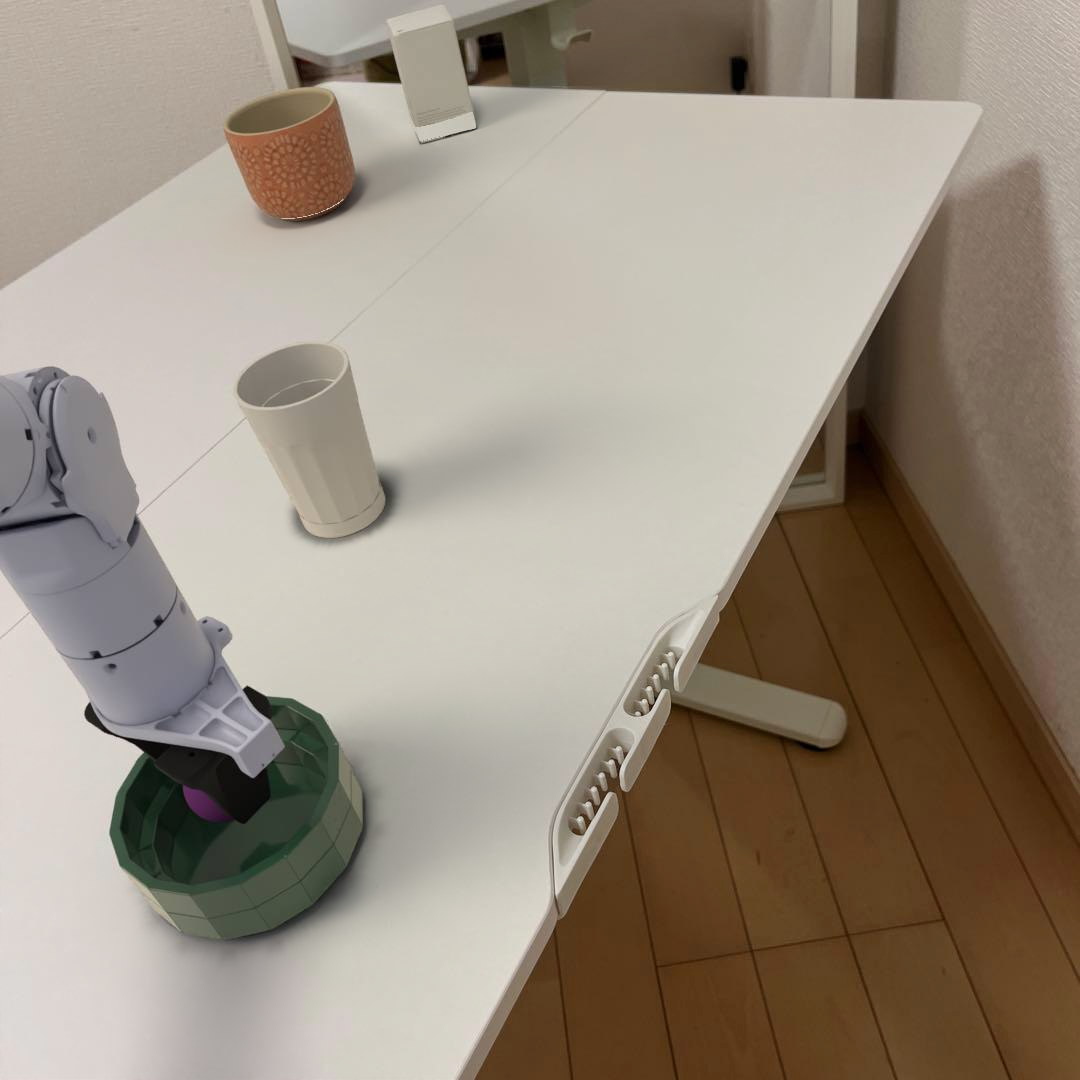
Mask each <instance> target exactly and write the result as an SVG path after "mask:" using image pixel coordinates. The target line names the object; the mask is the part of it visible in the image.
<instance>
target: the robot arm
mask: <svg viewBox="0 0 1080 1080" xmlns="http://www.w3.org/2000/svg"><path fill="white" fill-rule="evenodd" d="M139 505H140V497H139V494H138V492H137V483H136V482H135V480H134V478H133V476H132V475H131V473H130V471H129V468H128V467H127V464H126V462H125V459H124V456H123V452H122V448H121V441H120V436H119V432H118V428H117V424H116V421H115V418H114V415H113V412H112V409H111V406H110V405H109V402H108V400H107V398H106V395H105V394H104V392H98V391H97V389H96V388H95V387H94V386H93V385H92V384H91V383H90V382H89V381H88V380H87V379H85V378H83V377H81V376H79V375H75V374H73V375H71V374H70V373H68V372H67V371H66V370H64V369H62V368H60V367H57V366H43V367H36V368H32V369H27V370H24V371H23V370H21V371H18V372H11V373H7V374H0V572H1V574H2V575H3V576H4V578H5V579H6V580H7V582H8V584H9V585H10V586H11V588H12V589H13V590H14V592H15V594H16V595H17V596H18V598H19V599H20V600H21V602H22V603H23V605H24V606H25V608H26V609H27V610H28V611H29V613H30V615H31V616H32V617H33V619H34V620H35V621H36V623H37V625H38V626H39V628H40V629H41V631H43V633H44V635H45V636H46V637H47V638H48V640H49V641H50V644H52V646H53V647H54V649H55V650H56V651H57V653H58V654H59V656H60V658H61V659H62V660H63V662H64V663H65V664H66V666H67V667H68V669H69V670H70V671H71V673H72V675H73V676H74V677H75V679H76V680H77V681H78V683H79V685H80V686H81V687H82V688H83V690H84V691H85V693H86V696H87V698H88V700H89V701H88V703H87V705H86V706H85V708H84V713H83V717H84V718H85V720H86V721H87V722H88V723H89V724H91V725H92V726H93V727H95V728H96V729H98V730H99V731H101V732H102V733H104V734H106V735H110V736H113V737H116V738H118V739H121V740H123V741H126V742H128V743H129V744H133V745H134V746H135V747H137V748H138V749H139V750H140V751H141V752H142V753H145V754H146V755H148V756H149V757H150V758H151V759H152V760H153V761H154V763H153V764H154V766H155V767H156V768H157V769H158V770H160V771H161V772H163V773H164V774H166V775H167V776H169V777H170V778H171V779H173V780H174V781H176V782H178V783H179V784H181V785H184V786H186V787H188V788H191V789H194V790H200V791H203V792H204V793H205V794H206V795H207V796H208V797H209V798H210V799H211V800H212V801H213V802H214V803H215V804H216V805H217V806H218V807H219V808H220V809H221V810H222V811H223V812H225V813H226V814H227V815H229V816H230V817H231V818H233V819H234V820H236V821H237V822H239V823H241V824H246V823H247V821H248V820H249V819H250V818H251V817H252V816H253V815H254V814H255V813H256V812H257V811H258V810H259V809H260V808H261V807H262V806H263V805H264V804H265V803H266V802H267V801H268V800H269V799H270V798H271V792H270V784H269V778H268V772H267V765H268V764H269V763H270V762H271V761H272V760H273V759H274V758H275V756H276V755H277V754H278V753H279V752H280V751H281V750H282V749H283V748H284V747H285V745H284V744H283V742H282V740H281V738H280V736H279V734H278V733H277V731H276V729H275V727H274V725H273V724H272V722H271V718H272V715H273V709H272V706H271V704H270V702H269V700H268V698H267V697H266V696H267V695H265V694H263V693H262V692H260V691H258V690H256V689H255V688H253V687H252V686H249V685H245V687H243V688H242V686H241V684H240V683H239V681H238V679H237V678H236V676H235V675H234V673H233V671H232V670H231V668H230V666H229V664H228V663H227V661H226V659H225V658H224V656H223V649H224V648H225V647H226V646H228V645H229V644H230V643H231V641H232V640H233V636H234V635H233V633H232V631H231V629H230V628H229V626H228V625H227V624H225V623H224V622H222V621H220V620H218V619H216V618H214V617H212V616H204V617H203V616H202V617H201V618H199V619H198V620H197V618H196V615H194V613H193V611H192V609H191V607H190V605H189V604H188V602H187V601H186V598H185V596H184V595H183V594H182V592H181V590H180V588H179V586H178V584H177V582H176V581H175V579H174V576H173V575H172V574H171V572H170V570H169V568H168V566H167V564H166V563H165V561H164V559H163V558H162V556H161V554H160V552H159V550H158V548H157V547H156V545H155V544H154V542H153V539H152V538H151V536H150V535H149V532H148V530H147V529H146V528H145V526H144V524H143V522H142V520H141V518H140V517H139V515H138V513H137V511H138V508H139Z"/></svg>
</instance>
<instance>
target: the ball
mask: <svg viewBox="0 0 1080 1080" xmlns="http://www.w3.org/2000/svg"><path fill="white" fill-rule="evenodd" d="M183 792H184V796H185V799H186V801H187V803H188V805H189V807H190V808H191V809H192V810H193V812H194V813H196V814H197V815H198V816H199V817H201V818H203V819H205V820H208V821H211V822H218V823H223V822H230V821H234V819H233V818H231V817H230V816H229V815H227V814H226V813H225V812H223V811H222V810H221V809H220V808H219V807H218V806H217V805H216V804H215V803H214V802H213V801H212V800H211V799H210V798H209V797H208V796H207V795H206V794H205V793H204V792H203V791H200V790H194V789H191V788H188V787H186V786H184V785H183Z"/></svg>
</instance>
